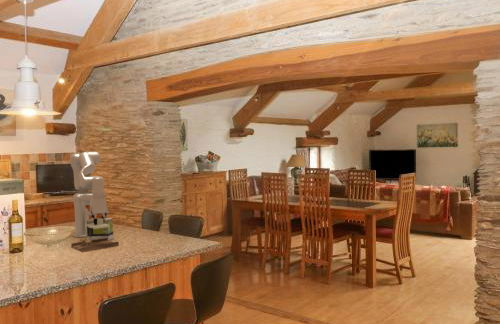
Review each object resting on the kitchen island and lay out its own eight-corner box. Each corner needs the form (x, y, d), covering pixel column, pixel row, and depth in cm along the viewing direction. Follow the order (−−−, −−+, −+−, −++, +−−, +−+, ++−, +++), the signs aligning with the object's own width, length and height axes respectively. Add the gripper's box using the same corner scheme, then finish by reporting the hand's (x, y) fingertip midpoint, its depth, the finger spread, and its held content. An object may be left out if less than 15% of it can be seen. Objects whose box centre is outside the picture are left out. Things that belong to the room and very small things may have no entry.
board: (71, 247, 295) (71, 239, 295) (106, 241, 311) (106, 234, 311) (82, 252, 282) (82, 243, 282) (118, 245, 298) (118, 237, 298)
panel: (85, 226, 299) (84, 218, 299) (99, 224, 306) (99, 216, 305) (93, 229, 289) (93, 220, 288) (109, 226, 295) (108, 218, 295)
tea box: (113, 238, 322) (113, 217, 321) (108, 241, 312) (107, 220, 311) (92, 238, 323) (92, 217, 322) (86, 241, 313) (86, 220, 312)
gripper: (108, 194, 306) (108, 221, 306) (83, 196, 295) (84, 225, 295) (113, 195, 300) (113, 223, 301) (88, 197, 289) (88, 226, 290)
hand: (99, 223), depth 298 cm, fingers closed on panel, 4 cm apart
